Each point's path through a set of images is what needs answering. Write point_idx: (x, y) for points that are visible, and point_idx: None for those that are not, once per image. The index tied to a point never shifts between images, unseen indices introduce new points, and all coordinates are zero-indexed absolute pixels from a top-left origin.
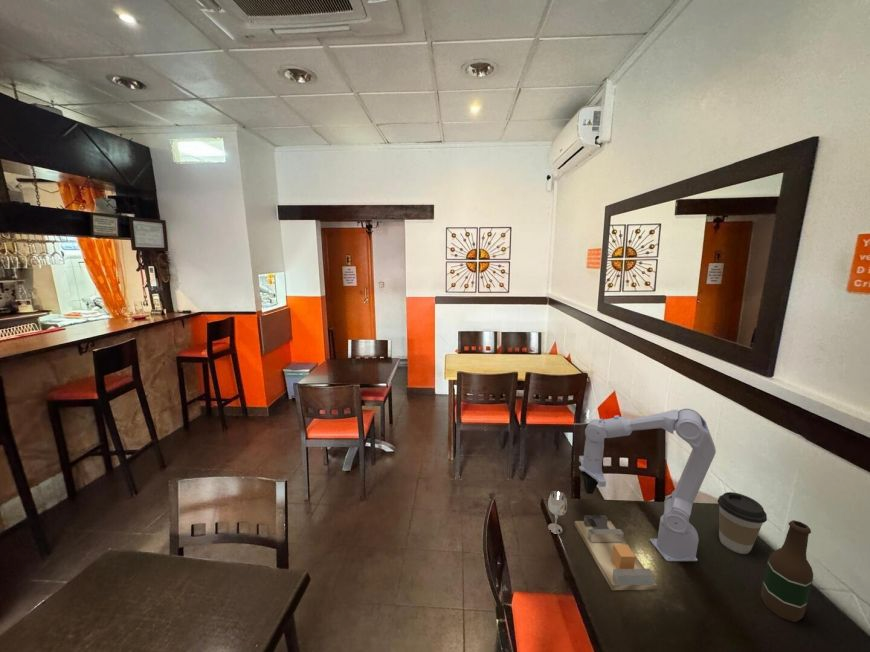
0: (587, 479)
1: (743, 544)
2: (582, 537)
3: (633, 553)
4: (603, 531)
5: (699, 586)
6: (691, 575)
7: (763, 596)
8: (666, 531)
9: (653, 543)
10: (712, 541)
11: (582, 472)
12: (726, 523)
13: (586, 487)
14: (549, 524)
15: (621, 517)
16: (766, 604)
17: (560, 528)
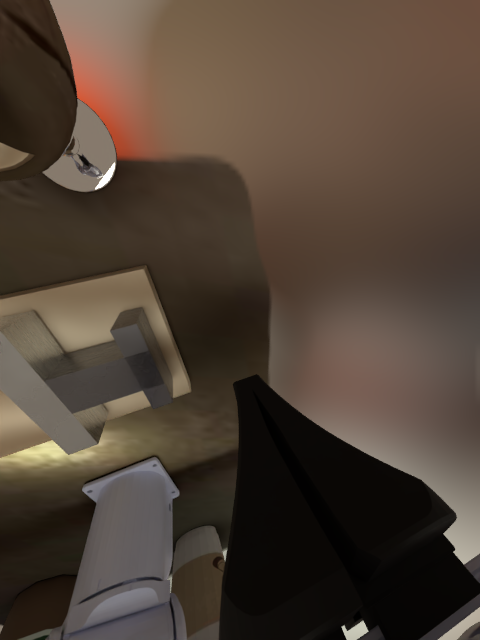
0: (222, 624)
1: (172, 578)
2: (55, 285)
3: (36, 443)
4: (31, 394)
5: (23, 527)
6: (59, 515)
7: (44, 596)
8: (84, 583)
9: (139, 466)
10: (195, 521)
11: (398, 553)
12: (189, 611)
13: (245, 417)
14: (90, 110)
15: (231, 406)
16: (30, 593)
17: (79, 180)
